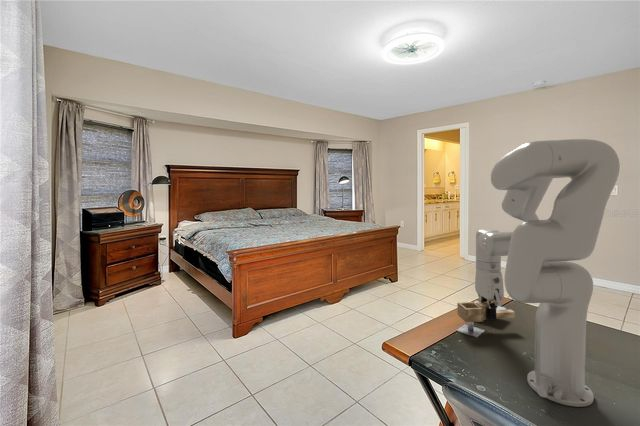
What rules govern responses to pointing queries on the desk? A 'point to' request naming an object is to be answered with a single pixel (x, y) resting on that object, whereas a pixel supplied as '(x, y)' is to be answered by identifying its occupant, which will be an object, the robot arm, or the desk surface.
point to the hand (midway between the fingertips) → (487, 316)
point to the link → (479, 312)
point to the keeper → (497, 307)
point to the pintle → (470, 330)
